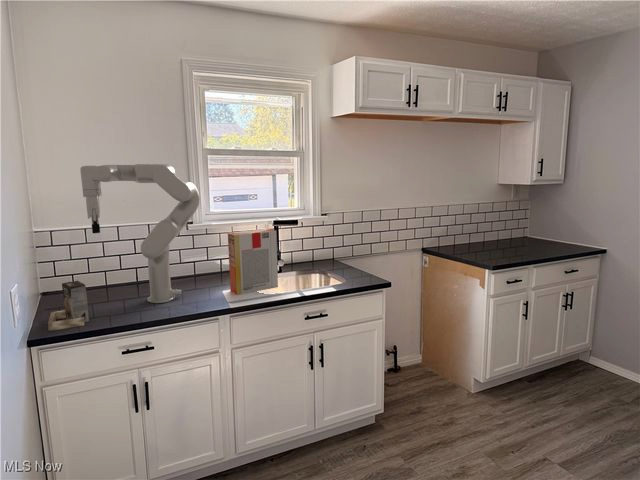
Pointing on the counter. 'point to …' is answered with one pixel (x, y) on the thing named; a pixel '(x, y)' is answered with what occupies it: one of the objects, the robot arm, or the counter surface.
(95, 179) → the robot arm
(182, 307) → the counter surface
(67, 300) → the coffee box
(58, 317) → the dock
